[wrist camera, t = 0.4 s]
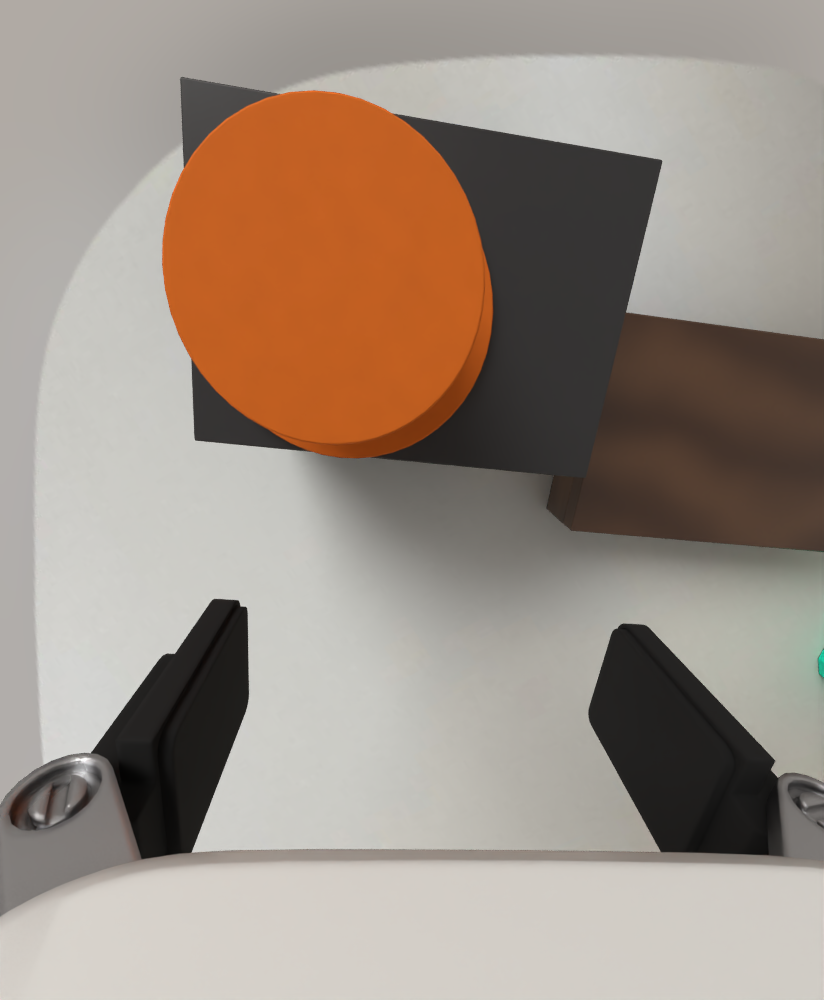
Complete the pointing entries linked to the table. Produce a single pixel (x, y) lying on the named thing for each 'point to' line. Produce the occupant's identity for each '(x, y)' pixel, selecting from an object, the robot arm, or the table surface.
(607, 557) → the table surface
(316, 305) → the hat
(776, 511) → the stand
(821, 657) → the candle
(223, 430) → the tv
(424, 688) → the table surface
